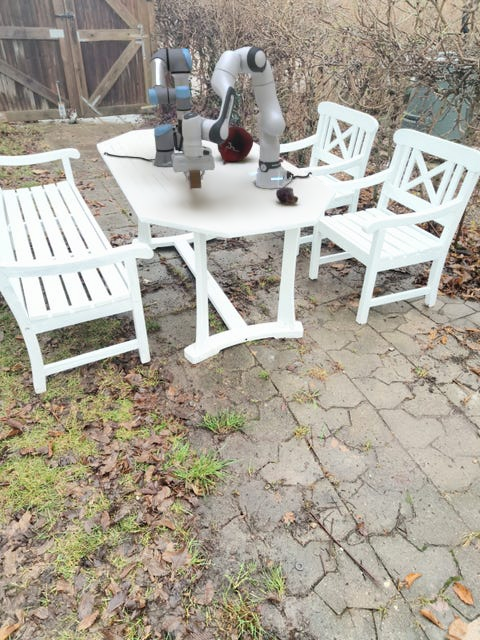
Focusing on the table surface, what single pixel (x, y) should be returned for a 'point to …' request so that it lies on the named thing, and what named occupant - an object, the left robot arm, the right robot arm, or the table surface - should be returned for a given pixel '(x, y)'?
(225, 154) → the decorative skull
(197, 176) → the beam
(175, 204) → the table surface
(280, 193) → the rock
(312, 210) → the table surface
